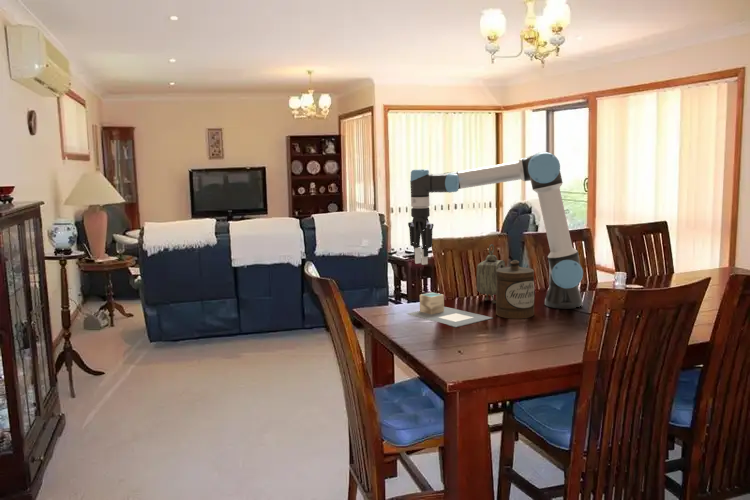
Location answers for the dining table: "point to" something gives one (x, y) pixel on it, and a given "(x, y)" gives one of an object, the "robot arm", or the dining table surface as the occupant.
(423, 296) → the birch cube
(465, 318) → the mat
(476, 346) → the dining table surface
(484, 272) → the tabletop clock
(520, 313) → the wooden container
